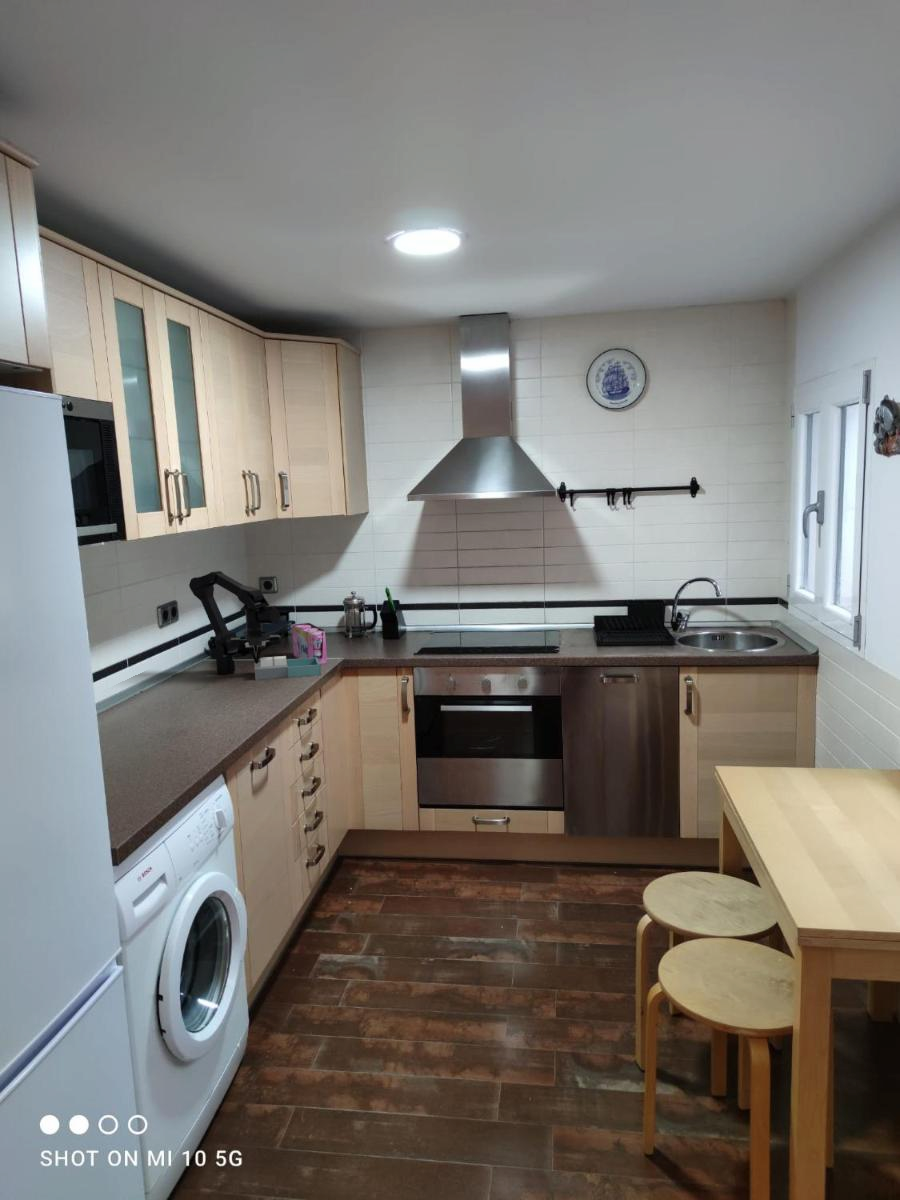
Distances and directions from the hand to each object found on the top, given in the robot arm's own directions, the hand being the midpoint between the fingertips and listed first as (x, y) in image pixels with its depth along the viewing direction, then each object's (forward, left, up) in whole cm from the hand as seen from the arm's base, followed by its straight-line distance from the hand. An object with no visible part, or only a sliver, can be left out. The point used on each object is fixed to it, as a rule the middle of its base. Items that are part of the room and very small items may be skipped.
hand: (256, 663), depth 295 cm
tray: (+17, 0, -5) cm, 18 cm away
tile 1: (+4, 0, -1) cm, 4 cm away
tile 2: (+9, 0, -1) cm, 9 cm away
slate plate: (+5, 0, -5) cm, 7 cm away
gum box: (+21, +23, -5) cm, 32 cm away
